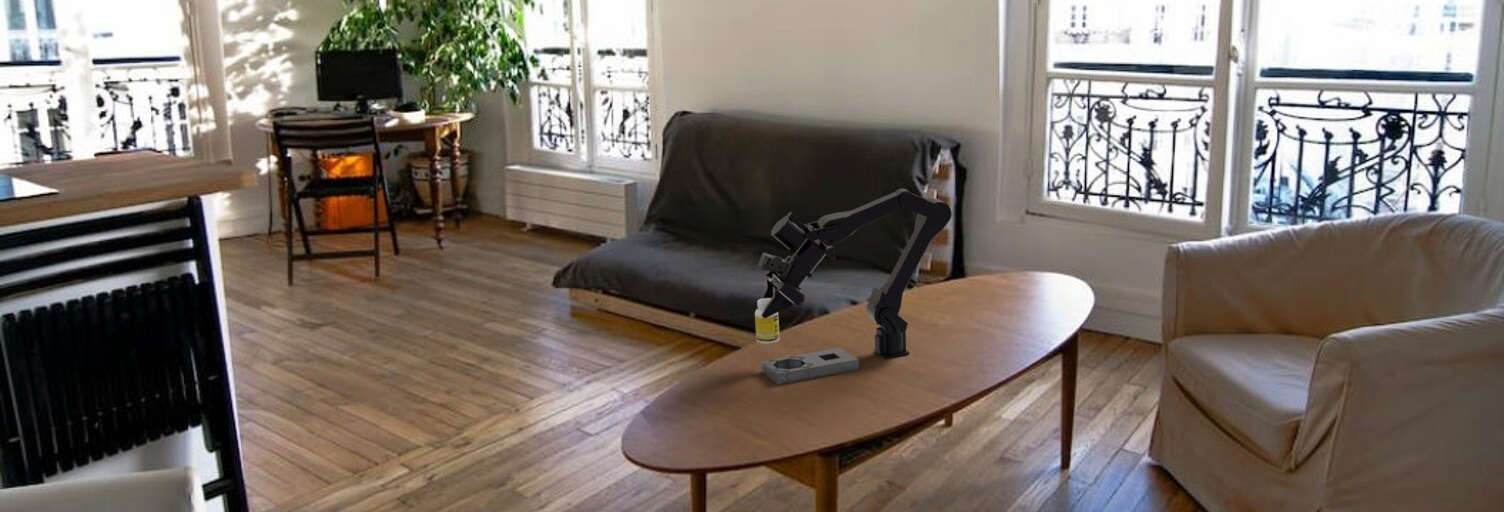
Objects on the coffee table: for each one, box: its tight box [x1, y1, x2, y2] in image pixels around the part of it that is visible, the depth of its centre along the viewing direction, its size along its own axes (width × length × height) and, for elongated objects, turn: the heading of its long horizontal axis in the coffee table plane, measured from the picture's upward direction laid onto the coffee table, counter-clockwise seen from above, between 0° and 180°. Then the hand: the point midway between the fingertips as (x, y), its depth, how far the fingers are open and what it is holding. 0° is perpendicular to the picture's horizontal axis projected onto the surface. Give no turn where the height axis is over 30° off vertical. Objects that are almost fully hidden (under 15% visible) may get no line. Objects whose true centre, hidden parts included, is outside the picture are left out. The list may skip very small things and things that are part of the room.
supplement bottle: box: [754, 297, 780, 345], centre depth 273 cm, size 5×5×10 cm
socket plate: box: [760, 347, 860, 385], centre depth 271 cm, size 20×10×2 cm, turn 110°
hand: (760, 313), depth 272 cm, fingers closed on supplement bottle, 5 cm apart
